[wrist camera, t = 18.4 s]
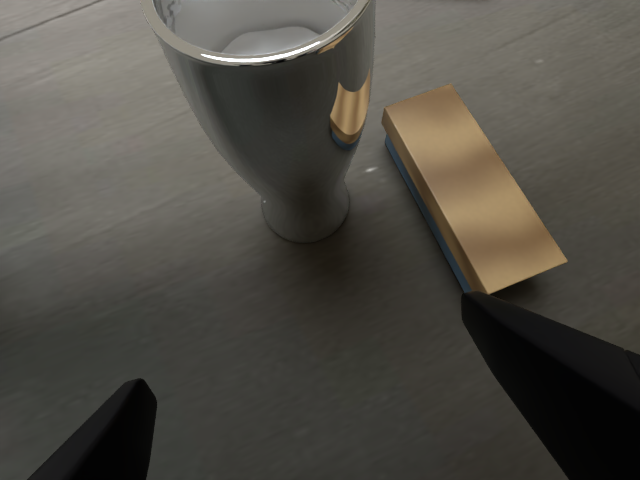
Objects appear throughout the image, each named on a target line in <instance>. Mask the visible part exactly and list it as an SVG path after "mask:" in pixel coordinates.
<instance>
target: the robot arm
mask: <svg viewBox="0 0 640 480" xmlns="http://www.w3.org/2000/svg"><path fill="white" fill-rule="evenodd" d="M461 311H462V320H463V323H464V325H465V327H466V328H467V330H468V332H469V334H470V335H471V337H472V339H473V341H474V342H475V344H476V346H477V348H478V349H479V351H480V353H481V355H482V356H483V358H484V360H485V362H486V363H487V365H488V367H489V368H490V370H491V372H492V373H493V375H494V376H495V378H496V379H497V380H498V382H499V383H500V385H501V386H502V387H503V389H504V390H505V392H506V393H507V394H508V396H509V397H510V398H511V400H512V401H513V403H514V404H515V405H516V407H517V408H518V410H519V411H520V412H521V414H522V415H523V416H524V418H525V419H526V421H527V422H528V423H529V425H530V426H531V427H532V429H533V430H534V432H535V433H536V434H537V436H538V437H539V439H540V440H541V441H542V443H543V444H544V445H545V447H546V448H547V450H548V451H549V452H550V454H551V455H552V457H553V458H554V459H555V461H556V462H557V463H558V465H559V466H560V468H561V469H562V470H563V472H564V473H565V475H566V476H567V477H568V479H569V480H640V355H639V354H636V353H634V352H631V351H629V350H625V351H624V349H623V348H621V347H618V346H616V345H613V344H611V343H608V342H606V341H603V340H601V339H598V338H596V337H593V336H591V335H588V334H586V333H583V332H581V331H579V330H576V329H574V328H571V327H569V326H566V325H564V324H561V323H559V322H556V321H554V320H551V319H549V318H546V317H544V316H541V315H539V314H536V313H534V312H531V311H529V310H526V309H524V308H521V307H519V306H516V305H514V304H511V303H509V302H506V301H504V300H501V299H499V298H496V297H494V296H491V295H489V294H486V293H484V292H481V291H478V290H473V291H470V292H466V293H463V294H462V297H461ZM156 410H157V400H156V397H155V396H154V394H153V392H152V391H151V389H150V388H149V386H148V385H147V383H146V382H145V380H143V379H141V378H138V379H135V380H131V381H127V382H125V383H124V384H123V385H122V386H121V387H120V388H119V389H118V390H117V391H116V392H115V393H114V394H113V395H112V396H111V397H110V398H109V399H108V400H107V401H106V402H105V403H104V404H103V405H102V406H101V407H100V408H99V409H98V410H97V411H96V412H95V413H94V414H93V415H92V416H91V417H90V418H89V419H88V420H87V421H86V422H85V423H84V424H83V425H82V426H81V427H80V428H79V429H78V430H77V431H76V432H75V433H74V434H73V435H72V436H71V437H70V438H69V439H68V440H67V441H66V442H65V443H64V444H63V445H62V446H60V447H59V448H58V449H57V450H56V451H55V452H54V453H53V454H52V455H51V456H50V457H49V458H48V459H47V460H46V461H45V462H44V463H43V464H42V465H41V466H40V467H39V468H38V469H37V470H36V471H35V472H34V473H33V474H32V475H31V476H30V477H29V478H28V479H27V480H146V477H147V472H148V468H149V462H150V456H151V448H152V441H153V433H154V426H155V418H156Z"/></svg>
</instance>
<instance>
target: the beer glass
mask: <svg viewBox="0 0 640 480" xmlns="http://www.w3.org/2000/svg"><path fill="white" fill-rule="evenodd" d="M140 4H141V8H142V11H143V14H144V16H145V18H146V20H147V22H148V24H149V25H150V27H151V28H152V30H153V31H154V33H155V35H156V37H157V39H158V41H159V44H160V46H161V48H162V50H163V52H164V54H165V56H166V58H167V61H168V63H169V65H170V67H171V69H172V72H173V74H174V76H175V78H176V80H177V82H178V84H179V86H180V88H181V90H182V92H183V94H184V96H185V98H186V100H187V102H188V104H189V106H190V108H191V109H192V111H193V113H194V115H195V117H196V118H197V120H198V122H199V124H200V126H201V127H202V129H203V130H204V132H205V133H206V135H207V136H208V138H209V139H210V141H211V142H212V144H213V145H214V147H215V148H216V150H217V151H218V153H219V154H220V155H221V156H222V157H223V158H224V159H225V161H226V162H227V163H228V164H229V165H230V166H231V168H232V169H233V170H234V171H235V172H236V173H237V174H238V175H239V176H240V177H241V178H242V179H243V180H244V181H245V182H246V183H247V184H248V185H249V186H250V187H252V188H253V189H254V190H255V191H256V192H257V193H258V194H259V195H260V197H261V207H262V212H263V215H264V218H265V220H266V222H267V223H268V225H269V226H270V228H271V229H272V230H273V231H274V232H275V233H277V234H278V235H280V236H281V237H283V238H285V239H287V240H290V241H294V242H299V243H309V242H315V241H319V240H321V239H324V238H326V237H328V236H329V235H331V234H332V233H333V232H335V231H336V230H337V229H338V228H339V226H340V225H341V224H342V222H343V221H344V219H345V217H346V215H347V212H348V208H349V194H348V190H347V187H346V184H345V181H344V179H345V176H346V173H347V171H348V169H349V166H350V164H351V162H352V159H353V157H354V155H355V152H356V150H357V147H358V144H359V141H360V138H361V135H362V132H363V129H364V125H365V122H366V117H367V111H368V106H369V100H370V95H371V86H372V75H373V65H374V44H375V10H376V0H140Z"/></svg>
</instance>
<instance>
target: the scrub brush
mask: <svg viewBox="0 0 640 480" xmlns="http://www.w3.org/2000/svg"><path fill="white" fill-rule="evenodd" d="M381 123H382V125H383V127H384V129H385V131H386V132H387V135H386V139H385V144H386V146H387V148H388V150H389V152H390V154H391V155H392V157H393V159H394V161H395V163H396V165H397V167H398V169H399V170H400V172H401V174H402V176H403V178H404V180H405V182H406V184H407V185H408V187H409V189H410V191H411V193H412V195H413V197H414V199H415V200H416V202H417V204H418V206H419V208H420V210H421V212H422V214H423V215H424V217H425V219H426V221H427V223H428V225H429V227H430V229H431V230H432V232H433V234H434V236H435V238H436V240H437V242H438V244H439V245H440V247H441V249H442V251H443V253H444V255H445V257H446V259H447V260H448V262H449V264H450V266H451V268H452V270H453V272H454V274H455V275H456V277H457V279H458V281H459V283H460V285H461V287H462V289H463V290H464V292H465V293H466V292H470V291H473V290H478V291H481V292H484V293H486V294H491V293H494V292H496V291H499V290H501V289H503V288H506V287H508V286H511V285H513V284H516V283H518V282H520V281H523V280H525V279H528V278H530V277H533V276H535V275H537V274H540V273H542V272H545V271H547V270H549V269H552V268H554V267H557V266H559V265H562V264H564V263H566V262H567V259H566V258H565V256H564V255H563V253H562V252H561V250H560V249H559V247H558V245H557V244H556V242H555V241H554V239H553V238H552V236H551V235H550V233H549V232H548V230H547V229H546V227H545V226H544V224H543V223H542V221H541V220H540V218H539V217H538V215H537V214H536V212H535V210H534V209H533V207H532V206H531V204H530V203H529V201H528V200H527V198H526V197H525V195H524V194H523V192H522V191H521V189H520V188H519V186H518V185H517V183H516V182H515V180H514V179H513V177H512V175H511V174H510V172H509V171H508V169H507V168H506V166H505V165H504V163H503V162H502V160H501V159H500V157H499V156H498V154H497V153H496V151H495V150H494V148H493V147H492V145H491V144H490V142H489V140H488V139H487V137H486V136H485V134H484V133H483V131H482V130H481V128H480V127H479V125H478V124H477V122H476V121H475V119H474V118H473V116H472V115H471V113H470V112H469V110H468V109H467V107H466V105H465V104H464V102H463V101H462V99H461V98H460V96H459V95H458V93H457V92H456V90H455V89H454V87H453V86H452V84H448V85H445V86H442V87H439V88H437V89H434V90H431V91H428V92H426V93H423V94H420V95H417V96H414V97H412V98H409V99H406V100H403V101H400V102H398V103H395V104H392V105H389V106H386V107H385V108H384V112H383V117H382V122H381Z"/></svg>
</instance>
